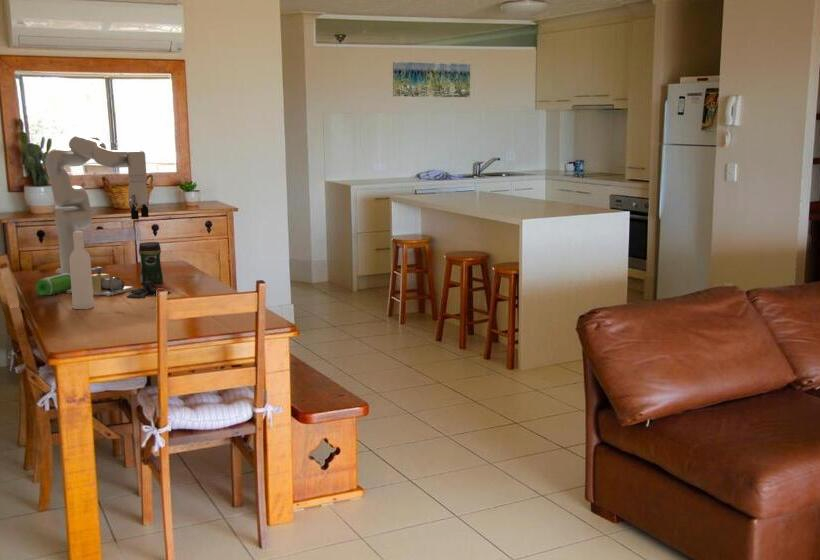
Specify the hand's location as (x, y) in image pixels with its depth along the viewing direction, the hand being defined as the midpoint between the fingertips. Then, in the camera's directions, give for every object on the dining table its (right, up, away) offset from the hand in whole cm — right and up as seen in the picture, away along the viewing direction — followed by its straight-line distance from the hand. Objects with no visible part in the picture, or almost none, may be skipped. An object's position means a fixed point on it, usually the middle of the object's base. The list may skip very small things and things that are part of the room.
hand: (140, 218), depth 388 cm
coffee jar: (+3, -29, +9) cm, 30 cm away
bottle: (-8, -38, -45) cm, 60 cm away
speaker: (-32, -33, -12) cm, 47 cm away
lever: (-16, -26, -17) cm, 35 cm away
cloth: (+10, -34, -17) cm, 39 cm away
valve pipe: (-14, -32, -10) cm, 37 cm away
